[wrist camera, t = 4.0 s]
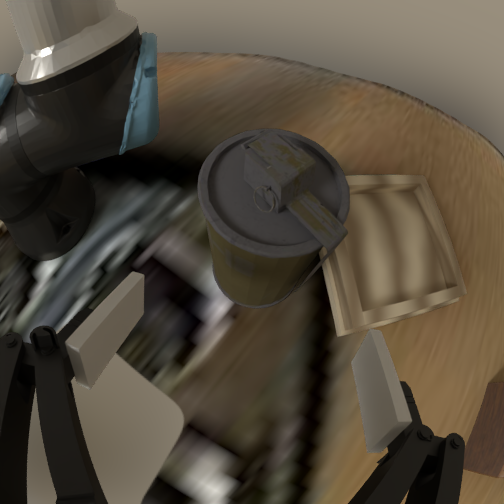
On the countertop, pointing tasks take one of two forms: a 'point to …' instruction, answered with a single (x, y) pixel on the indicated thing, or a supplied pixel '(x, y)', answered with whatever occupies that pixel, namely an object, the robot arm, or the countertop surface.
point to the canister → (270, 212)
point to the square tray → (390, 255)
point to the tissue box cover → (488, 435)
